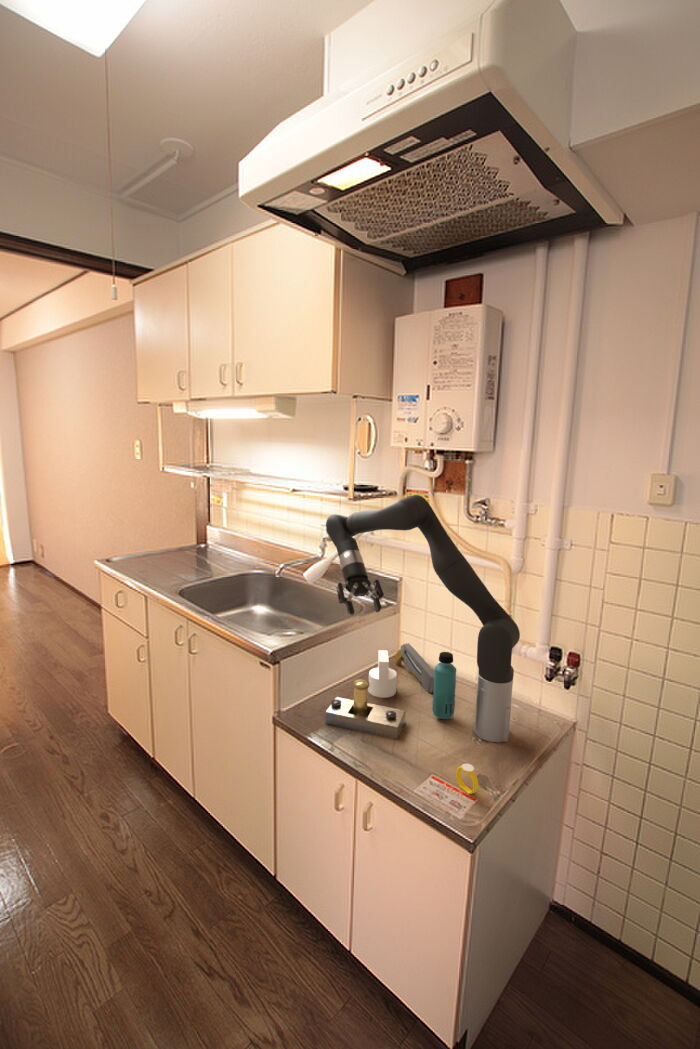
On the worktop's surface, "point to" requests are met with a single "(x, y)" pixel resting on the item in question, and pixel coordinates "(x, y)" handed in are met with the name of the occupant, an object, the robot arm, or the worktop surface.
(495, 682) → the robot arm
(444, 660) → the beverage bottle
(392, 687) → the cylinder with rectangular tab
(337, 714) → the metal socket block
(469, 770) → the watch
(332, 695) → the worktop surface
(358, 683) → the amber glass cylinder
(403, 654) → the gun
